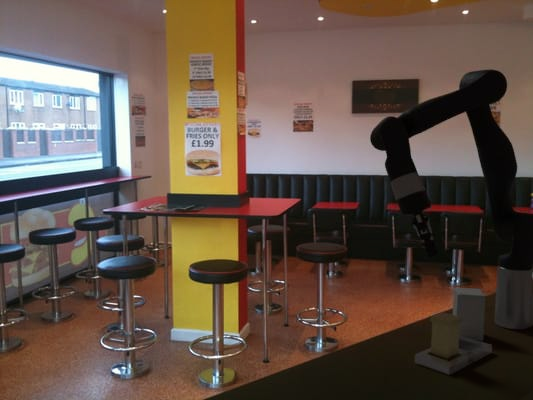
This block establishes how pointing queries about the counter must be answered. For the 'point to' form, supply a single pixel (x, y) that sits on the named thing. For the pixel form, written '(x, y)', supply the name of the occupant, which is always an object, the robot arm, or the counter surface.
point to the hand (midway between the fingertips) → (433, 256)
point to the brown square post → (445, 336)
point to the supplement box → (470, 312)
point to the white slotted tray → (466, 355)
